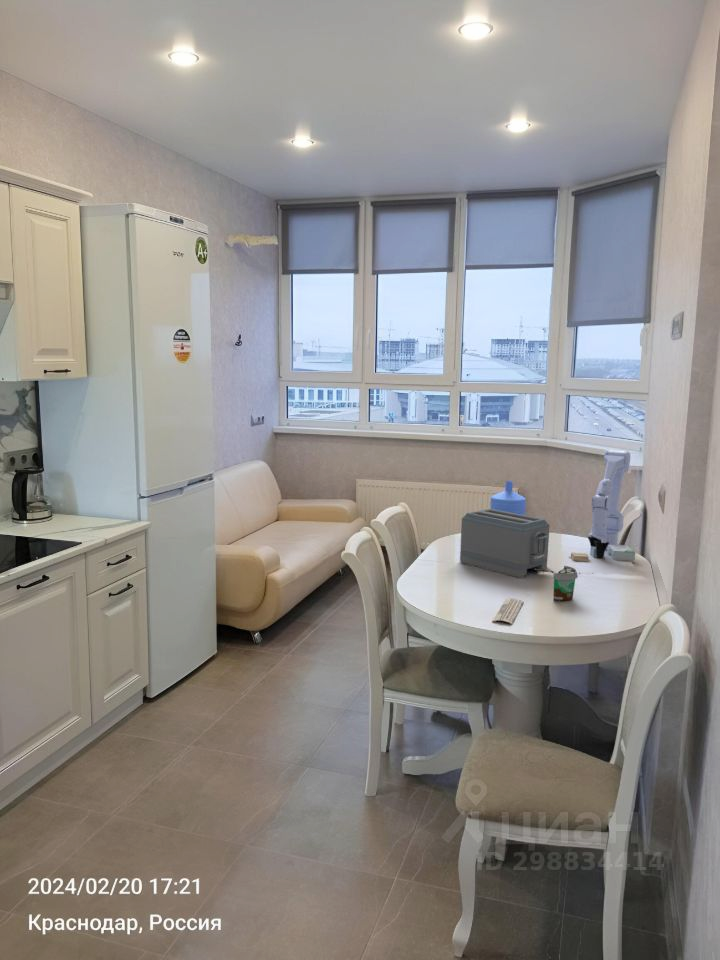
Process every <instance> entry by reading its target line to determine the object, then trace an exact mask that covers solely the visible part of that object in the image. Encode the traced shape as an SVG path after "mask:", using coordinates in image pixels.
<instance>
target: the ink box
mask: <svg viewBox="0 0 720 960" xmlns="http://www.w3.org/2000/svg"><path fill="white" fill-rule="evenodd" d="M606 551H607V554H608V555H609V556H610V557H611V559H612V560H619V561H623V560H624V561H629V563H631V564H634V563H635V558H636V551H634V549H633V548H631V547H630V546H629V545H627V544H617V545H611V544H610V545H608V548H607V550H606Z"/></svg>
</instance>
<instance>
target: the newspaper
mask: <svg viewBox="0 0 720 960" xmlns="http://www.w3.org/2000/svg"><path fill="white" fill-rule="evenodd" d="M523 605H524V600H522V599H518V598H506V599H505V600H504V601H503V603H502V605H501V606H500V608H499V610H498V611H497V613H496V614H495V616H494V618H493V620H492V623H496V622H497V621H499V622H500V621H501V622H506V623H509V625H511V626H512V625H513V624H514V622H515V620H516V618H517V617H518V615H517V614H519V613H518V612H520V611H519V610H521V609H520V608H522V607H523ZM521 606H522V607H521Z"/></svg>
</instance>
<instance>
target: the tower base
mask: <svg viewBox="0 0 720 960" xmlns="http://www.w3.org/2000/svg"><path fill="white" fill-rule="evenodd" d="M568 559H570V560H572V558H571V556H568ZM573 561H574V562H576V563H577V562H580V561H576V560H573ZM587 562H591V560H590V559H589V558H588V561H587Z"/></svg>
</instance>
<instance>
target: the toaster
mask: <svg viewBox="0 0 720 960" xmlns="http://www.w3.org/2000/svg"><path fill="white" fill-rule="evenodd" d="M550 528H551V527H550V523H548V521H546V519H544V518H541V517H540V518H539V517H534V516H529V515H526V514H525V515H520V514H514V513H509V512H504V511H499V510H493V509H490V508H486V509H482V510H481V509H480V510H477V511H470V512H466V513H465V515H464V516H463V517H462V518H461V528H460V529H461V530H460V552H459V563H461V562H462V564H465V565H469V566H472V565H473V567H477V568H480V569H485V570H487V569H488V571H491V572H495V573H499V574H503V575H508V576H511V577H514V578H517V579H523V578H525V576H526V575H527V572H528V570H529V569H531V570H535V571H537V570H538V571H541V572H546V570H543V569H545V568H548V558H549V543H550V540H549V539H550ZM540 569H541V570H540Z"/></svg>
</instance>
